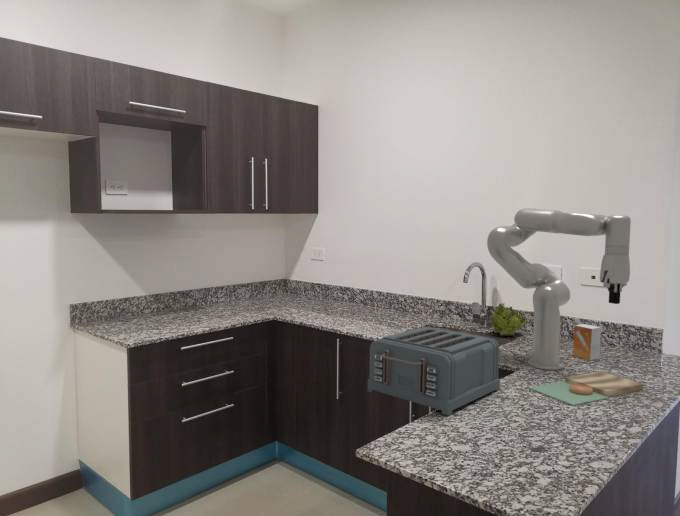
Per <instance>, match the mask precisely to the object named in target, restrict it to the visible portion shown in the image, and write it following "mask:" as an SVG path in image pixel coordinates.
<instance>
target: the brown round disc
mask: <svg viewBox="0 0 680 516" xmlns="http://www.w3.org/2000/svg"><path fill="white" fill-rule="evenodd" d="M569 391H570V392H573V393H576V394H582V395H590V394H592V393H593V388H592V387H590V386H587V385H583V384H570V385H569Z"/></svg>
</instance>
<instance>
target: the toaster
mask: <svg viewBox="0 0 680 516" xmlns="http://www.w3.org/2000/svg"><path fill="white" fill-rule="evenodd" d="M499 355H500V345H499V343H498V341H497V340H496V339H495V338H494V337H493V338H492V337H487V336H482V335H477V334H471V333H465V332H459V331H454V330H448V329H443V328H437V327H432V326H422V327H418V328H415V329H411V330H410V329H409V330H407V331H403V332H402V331H401V332H398V333H395V334H391V335H386V336H383V337H382V338H379V339H377V340H373V341H372V342H371V344H370V346H369V378H368V379H367V392H369V393H375V392H378V393H381V394H385V395H389V396H392V397H396V398H399V399H403V400H405V401H408V402H412V403H416V404H417V405H418V404H419V405H422V406H425V407H429V408H432V409H436V410H438V411H441V415H444V416H451V415H453V411H454V410H456V409H458V408H460V407H462V406H464V405H467V404H468V403H471V402H473V401H476V400H477V399H480V398H481V397H483V396H486V395H488V394H491V393H492V392H499V391H500V388H501V385H500V384H501V383H500V382H501V380H500V377H499V366H500V365H499V361H500V359H499V357H500V356H499Z"/></svg>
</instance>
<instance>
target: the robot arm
mask: <svg viewBox="0 0 680 516" xmlns="http://www.w3.org/2000/svg"><path fill="white" fill-rule="evenodd" d="M514 215H515V216H514V217H513V219H514V220H513V221H514V223H513V224H512V225H510V226H509V225H508V226H507V225H504V226H503V225H502V226H498V227H497V226H496V227H495V228H493V229H491V230H490V232H489V234H488V236H487V239H486V241H487V242H486V244H487V245H486V247H487V249H488V252H489V254H490V256H491V257H492V259H493V260H494V261H495V262H496V263H497V264H498V265H499V266H500V267H501V268H502V269H503V270H505V272H506V273H507V274H508V275H509V276H510V277H511V278H512V279H513V280H514V281H515V282H516V283H518V284H519V286H520V287H522V288H523V289H535V290H534V292H533V294H532V305H533V340H532V341H533V342H532V350H530V349H529V350H528V351H527V352H526V354H525V355H526V356H528V357H530V359H529V360H528V361H527V364H528V366H530V367H532V368H534V369H535V368H536V369H540V370H547V371H557V370H561V369H563V368H564V364H563V362H561V361H560V347H561V346H560V345H561V343H560V341H561V324H562V323H561V321H562V320H561V312H560V307H562V306H564V305H566V304H567V303H568V302H569V301H570V299H571V292H570V289H569V287H568V285H566V284H565V282H564V281H563V280H561V279H560V278H559V277H558V276H557V275H556V274H555V273H554V272H553V271H552V270H550V268H548V267H547V266H545V265H544V264H541V263H531V262H530V261H527V259H525V258H524V256H523V255H521V254H520V253H519V252H517V251H516V250H515V249H514V247H518V246H520V245H521V244H522V243H524V242H526V241H527V240H528V239H529V238H531V237H532V236H533V235H535V234H536V233H537V232H541V233H551V234H563V235H564V234H565V235H571V236H573V235H574V236H583V237H597V236H605V238H604V239H605V244H604V254H603V256H602V259H601V265H600V273H599V282H600V283H603V287H604V288H606V289H607V292H608V303H609V304H614V305H619V304H620V303H621V293H622V292H623V291H622V290H623V288H624V287H626V286H628V284H627V283H628V282H629V281H630V275H631V263H630V240H631V239H630V238H631V223H632V222H631V221H632V220H631V217H630V216H629V215H603V214H587V213H586V214H585V213H572V212H571V213H570V212H563V211H560V210H555V209H543V208H542V209H541V208H529V207H528V208H525V207H524V208H522V209H519V210H518V211H517V212H516V213H515V214H514Z"/></svg>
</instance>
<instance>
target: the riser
mask: <svg viewBox="0 0 680 516" xmlns="http://www.w3.org/2000/svg"><path fill="white" fill-rule="evenodd" d="M564 380H565V381H564V382H566V383H569V384H583V385H587V386H590V387H592V388H593V392H595V393H598V394H601V395H604V396H607V397H609V398H611V397H614V396H615V397H616V396H619V395H625V394H630V393H636V392H639V391H643V390H644V383H640V382H638V381H635V380H631V379H628V378H625V377H621V376H619V375H615V374H612V373H609V372H605V371H602V370H601V371H597V372H596V371H595V372H589V373H585V374H579V375H572V376H568V377H567V376H566V377H565V378H564Z"/></svg>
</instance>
